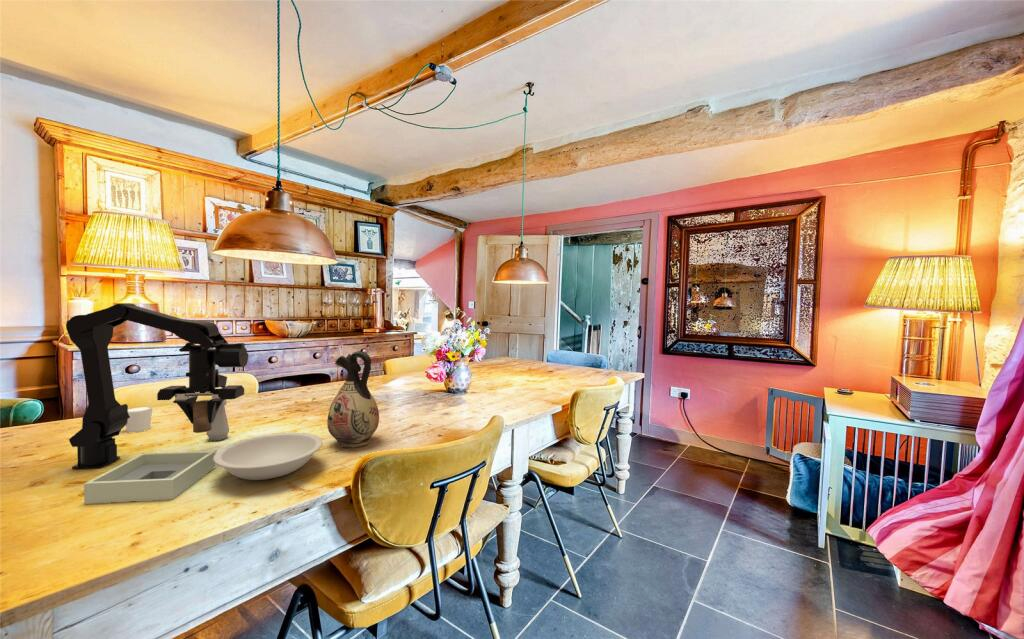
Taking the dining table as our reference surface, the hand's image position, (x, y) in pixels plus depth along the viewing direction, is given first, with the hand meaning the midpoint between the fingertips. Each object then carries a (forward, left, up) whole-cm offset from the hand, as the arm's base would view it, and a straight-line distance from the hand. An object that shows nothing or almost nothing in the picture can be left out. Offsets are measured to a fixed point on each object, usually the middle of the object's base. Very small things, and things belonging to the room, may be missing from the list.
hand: (202, 423), depth 107 cm
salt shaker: (-4, +16, -10) cm, 19 cm away
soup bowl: (+22, -11, -10) cm, 27 cm away
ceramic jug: (+39, +8, -10) cm, 41 cm away
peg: (0, 0, -2) cm, 2 cm away
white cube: (-33, +27, -10) cm, 44 cm away
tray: (-2, -15, -10) cm, 18 cm away
